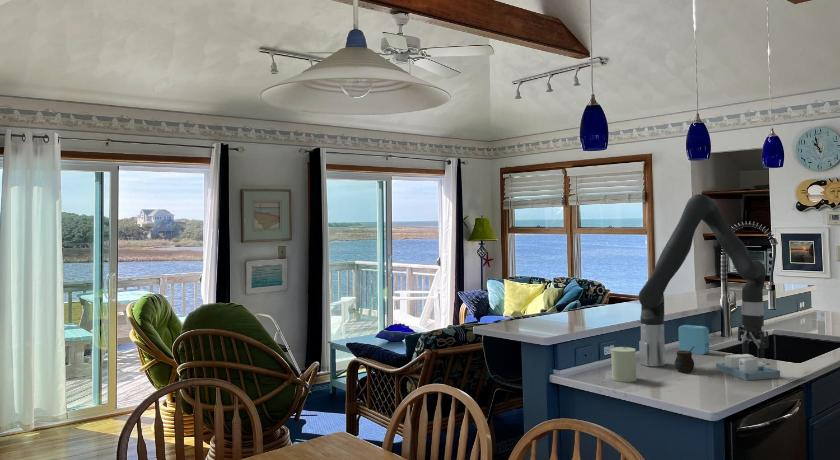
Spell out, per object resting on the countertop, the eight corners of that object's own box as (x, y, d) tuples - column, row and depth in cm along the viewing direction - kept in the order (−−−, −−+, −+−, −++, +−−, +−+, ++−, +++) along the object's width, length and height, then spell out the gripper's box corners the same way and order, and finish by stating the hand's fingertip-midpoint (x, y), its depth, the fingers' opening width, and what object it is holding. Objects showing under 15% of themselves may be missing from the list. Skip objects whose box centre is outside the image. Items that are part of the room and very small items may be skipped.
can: (637, 377, 245) (636, 346, 245) (635, 382, 237) (634, 350, 237) (613, 375, 249) (612, 345, 249) (610, 381, 241) (609, 349, 241)
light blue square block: (709, 353, 283) (708, 326, 283) (705, 355, 280) (704, 328, 280) (683, 350, 292) (682, 324, 292) (678, 351, 289) (678, 325, 289)
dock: (746, 380, 235) (745, 364, 235) (716, 369, 253) (715, 354, 253) (780, 377, 237) (779, 361, 237) (747, 367, 255) (747, 352, 255)
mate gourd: (671, 370, 255) (670, 345, 255) (689, 369, 256) (688, 344, 256) (680, 374, 248) (679, 348, 248) (698, 373, 248) (698, 347, 248)
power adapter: (762, 370, 245) (761, 355, 245) (772, 373, 240) (771, 358, 240) (737, 373, 242) (737, 357, 242) (746, 375, 237) (746, 360, 237)
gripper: (731, 311, 247) (732, 352, 247) (756, 316, 233) (756, 360, 233) (748, 310, 248) (749, 351, 248) (774, 315, 234) (775, 359, 234)
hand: (753, 355), depth 241 cm, fingers open, 8 cm apart
